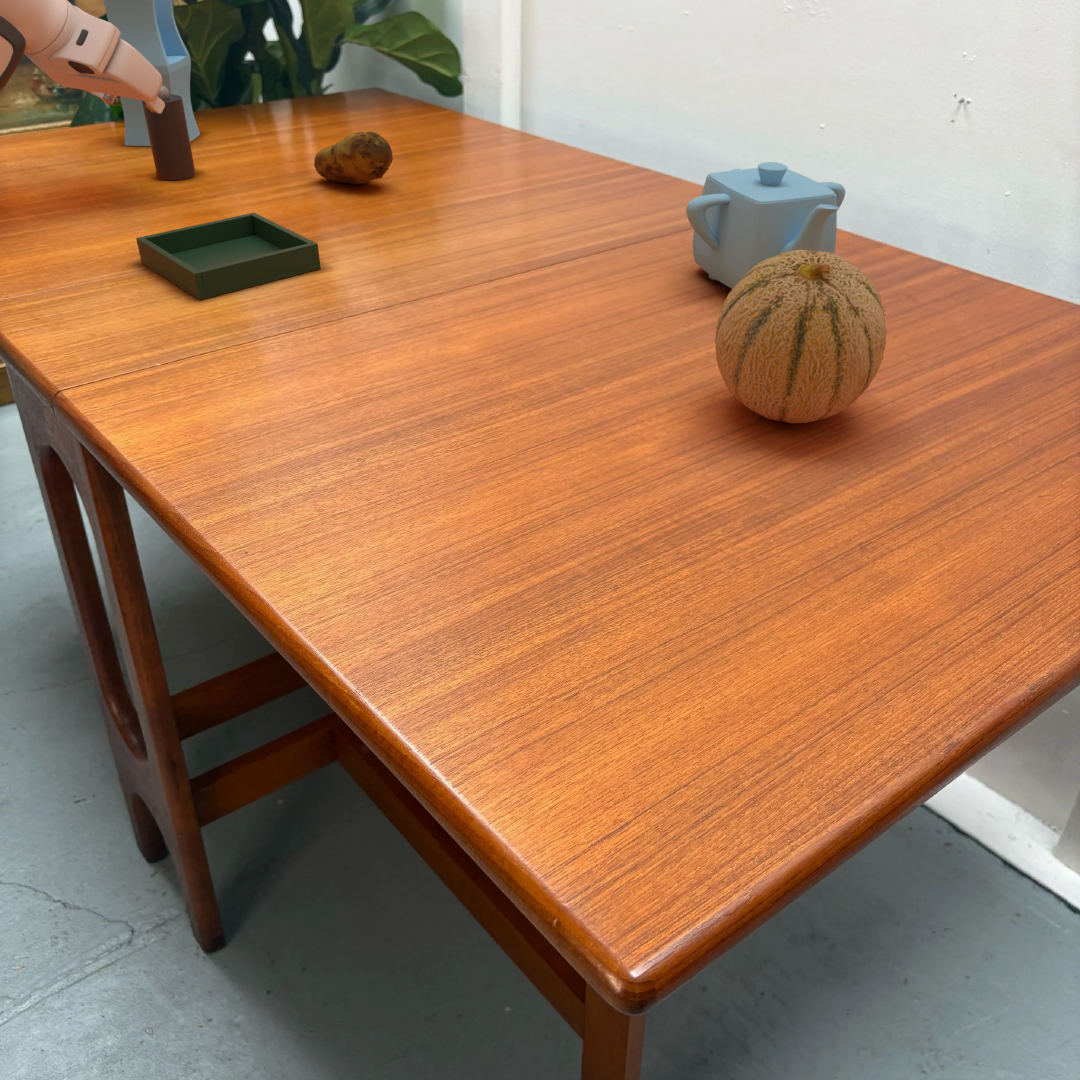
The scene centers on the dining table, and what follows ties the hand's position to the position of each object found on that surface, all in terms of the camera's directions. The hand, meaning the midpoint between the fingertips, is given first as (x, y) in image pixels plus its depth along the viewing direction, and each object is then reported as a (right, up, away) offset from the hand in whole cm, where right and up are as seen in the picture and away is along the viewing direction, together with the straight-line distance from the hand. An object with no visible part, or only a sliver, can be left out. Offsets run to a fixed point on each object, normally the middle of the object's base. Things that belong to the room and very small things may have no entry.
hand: (137, 104), depth 145 cm
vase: (-6, +6, +27) cm, 29 cm away
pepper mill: (+2, -7, +9) cm, 12 cm away
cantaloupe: (+80, -50, -52) cm, 108 cm away
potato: (+30, -10, +6) cm, 32 cm away
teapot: (+83, -33, -27) cm, 94 cm away
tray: (+20, -29, -22) cm, 42 cm away
